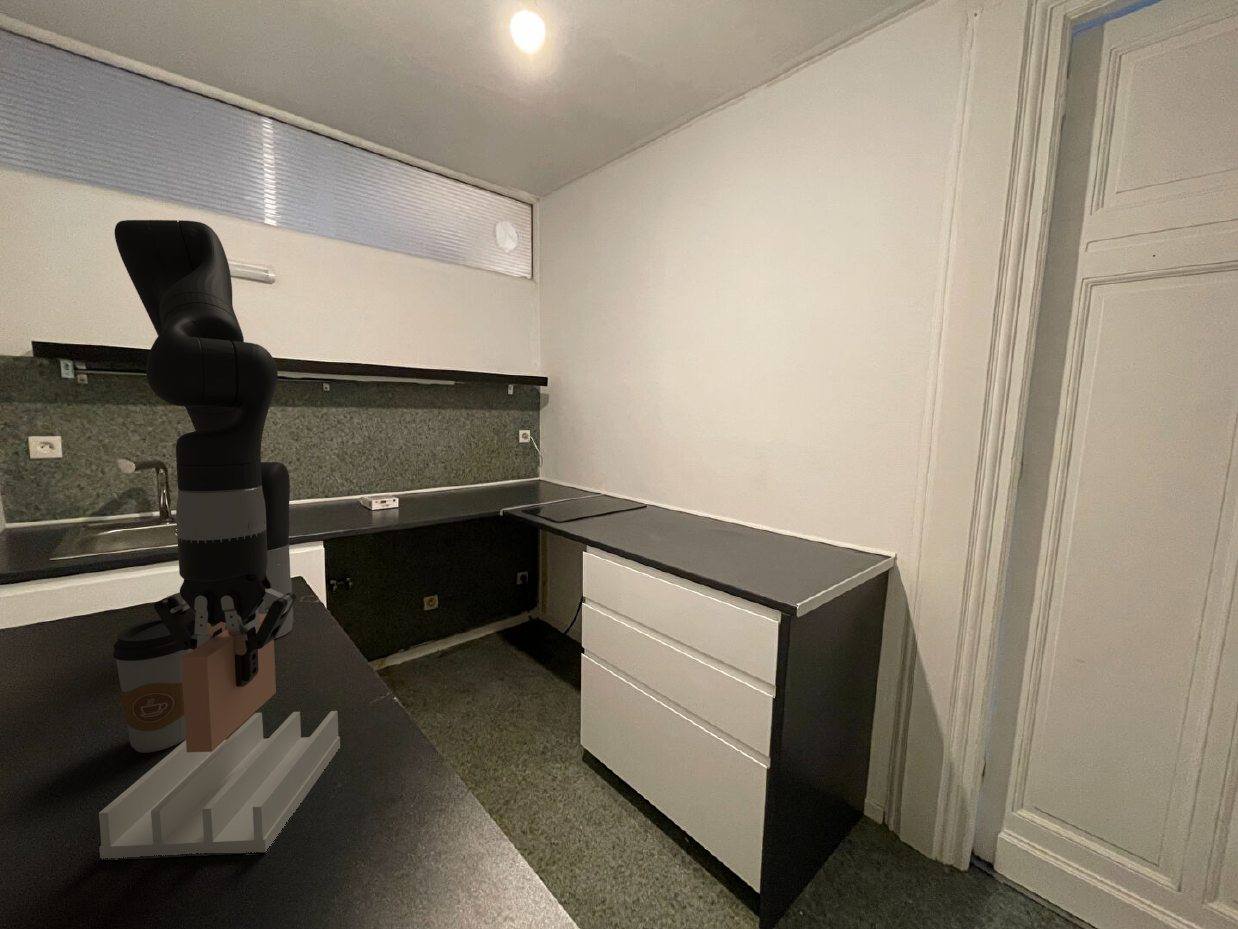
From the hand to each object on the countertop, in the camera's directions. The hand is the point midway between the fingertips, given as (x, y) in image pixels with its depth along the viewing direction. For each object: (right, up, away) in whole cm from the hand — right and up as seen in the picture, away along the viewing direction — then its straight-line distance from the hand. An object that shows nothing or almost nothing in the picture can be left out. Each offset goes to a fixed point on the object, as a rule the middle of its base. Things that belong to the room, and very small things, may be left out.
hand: (231, 682), depth 56 cm
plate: (0, -4, +1) cm, 5 cm away
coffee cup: (-17, -12, +11) cm, 24 cm away
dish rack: (0, -13, +1) cm, 13 cm away
